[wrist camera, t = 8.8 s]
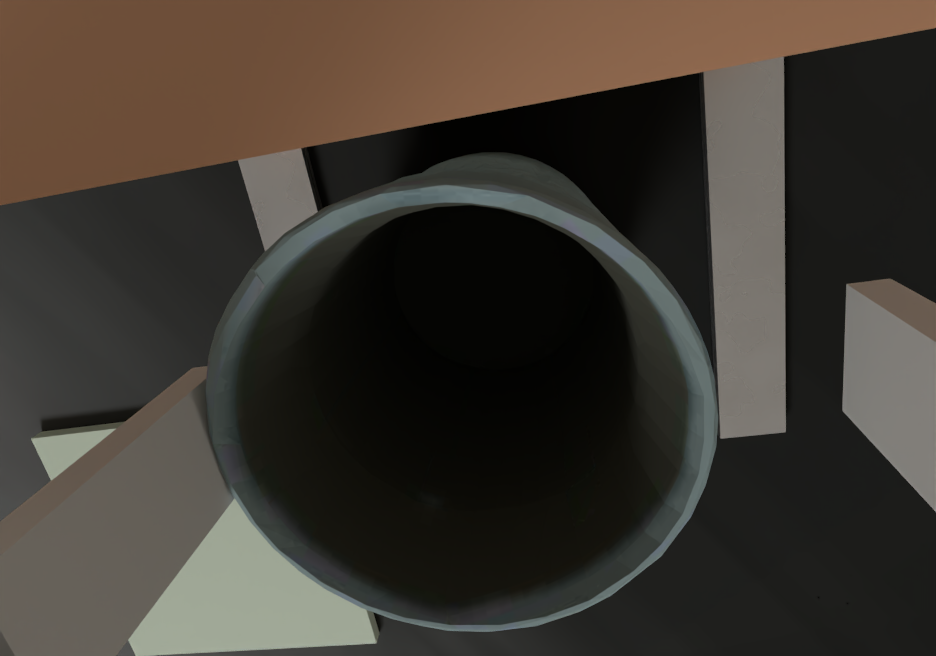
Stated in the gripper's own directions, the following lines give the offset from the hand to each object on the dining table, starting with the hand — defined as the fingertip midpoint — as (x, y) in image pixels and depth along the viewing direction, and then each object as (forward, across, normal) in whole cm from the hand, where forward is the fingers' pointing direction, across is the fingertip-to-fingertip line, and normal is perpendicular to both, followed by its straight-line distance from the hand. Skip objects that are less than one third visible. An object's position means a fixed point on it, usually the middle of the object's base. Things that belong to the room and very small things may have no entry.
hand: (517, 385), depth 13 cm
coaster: (+10, -16, -11) cm, 22 cm away
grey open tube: (+11, -1, 0) cm, 11 cm away
